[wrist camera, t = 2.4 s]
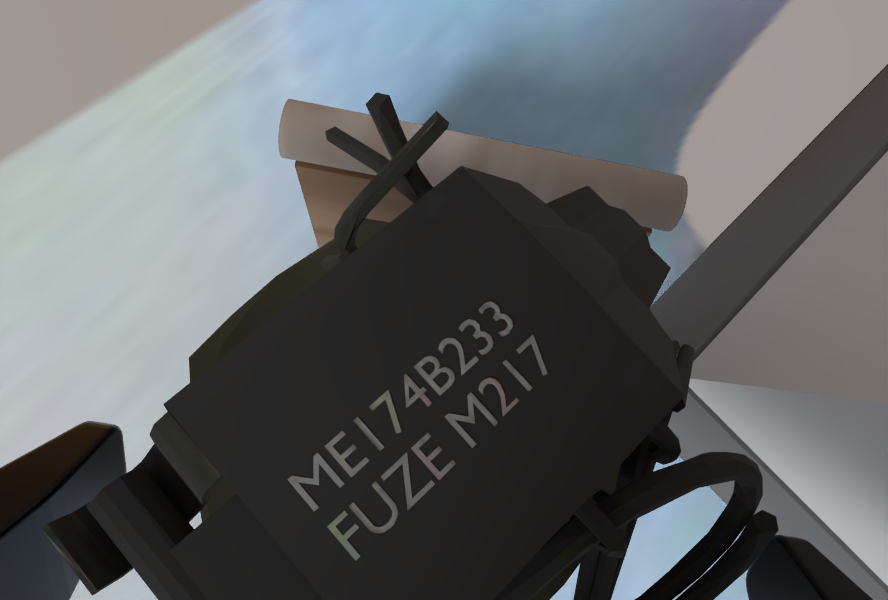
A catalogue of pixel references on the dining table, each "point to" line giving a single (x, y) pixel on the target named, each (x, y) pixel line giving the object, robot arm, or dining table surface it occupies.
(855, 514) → the alarm clock
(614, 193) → the wooden panel
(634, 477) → the grenade
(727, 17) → the dining table surface
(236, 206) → the dining table surface
